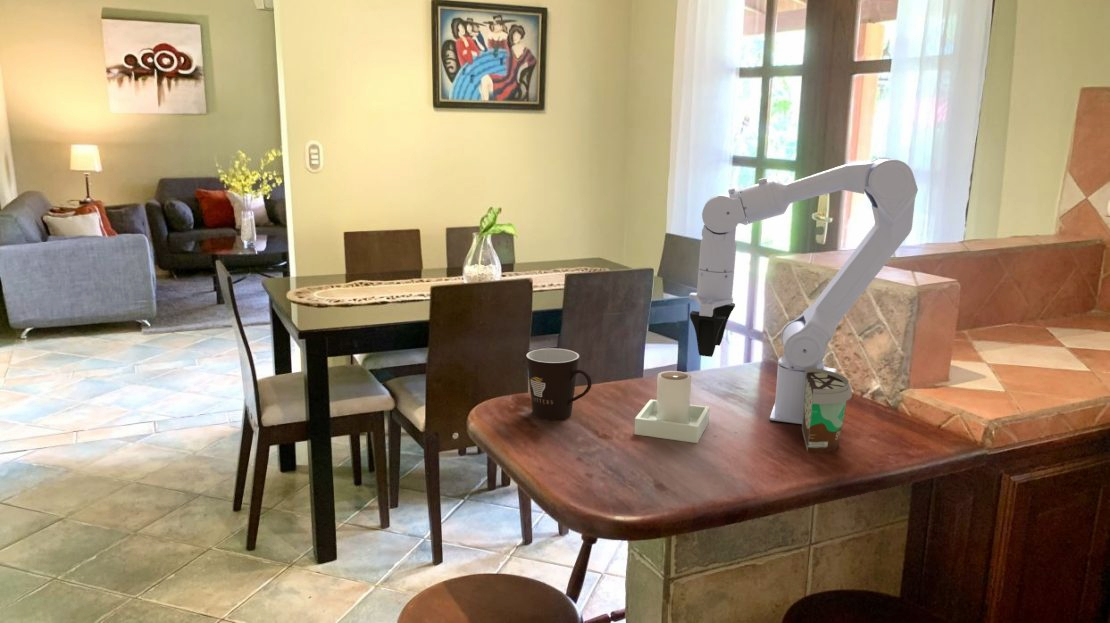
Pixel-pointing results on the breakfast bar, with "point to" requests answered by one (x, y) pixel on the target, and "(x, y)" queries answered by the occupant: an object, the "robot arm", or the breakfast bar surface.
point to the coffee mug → (554, 382)
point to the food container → (824, 409)
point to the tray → (672, 424)
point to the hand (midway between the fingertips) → (709, 350)
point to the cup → (673, 396)
